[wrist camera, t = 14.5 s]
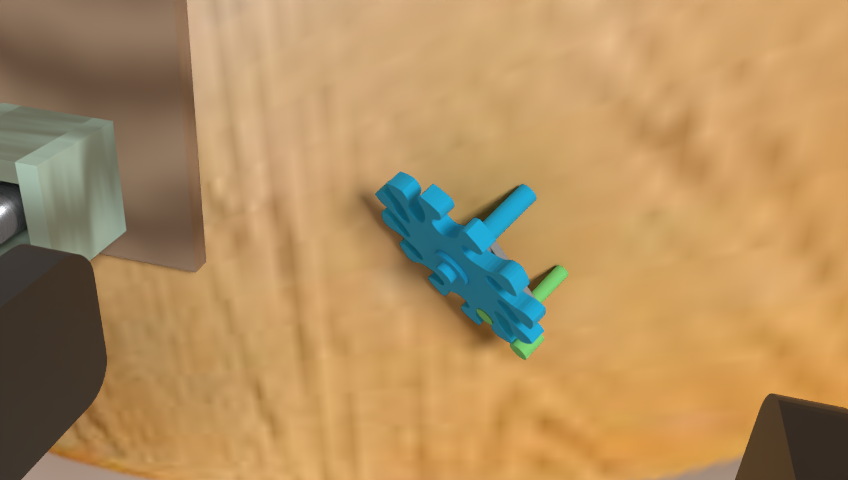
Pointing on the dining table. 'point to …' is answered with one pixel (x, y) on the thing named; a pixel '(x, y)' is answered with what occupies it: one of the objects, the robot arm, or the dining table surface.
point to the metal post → (11, 210)
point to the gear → (471, 258)
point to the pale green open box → (62, 179)
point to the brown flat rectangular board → (119, 106)
